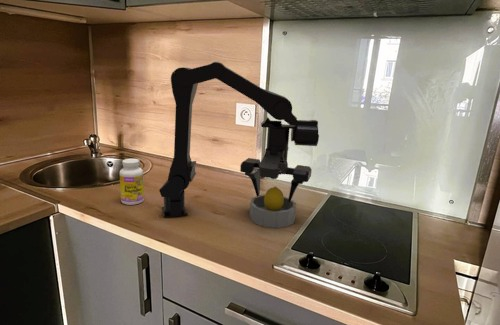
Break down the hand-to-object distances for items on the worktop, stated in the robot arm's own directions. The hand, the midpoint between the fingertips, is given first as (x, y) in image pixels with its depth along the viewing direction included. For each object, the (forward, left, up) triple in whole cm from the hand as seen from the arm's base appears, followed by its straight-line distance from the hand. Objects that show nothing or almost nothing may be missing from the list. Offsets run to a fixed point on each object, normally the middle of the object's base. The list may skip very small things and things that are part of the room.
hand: (273, 198), depth 90 cm
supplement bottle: (-21, -37, -6) cm, 43 cm away
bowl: (0, 0, -6) cm, 6 cm away
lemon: (0, 0, -5) cm, 5 cm away
